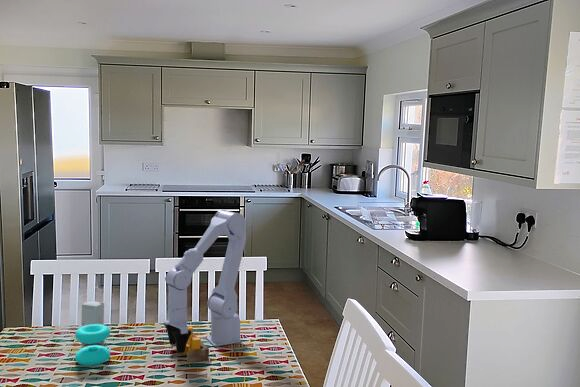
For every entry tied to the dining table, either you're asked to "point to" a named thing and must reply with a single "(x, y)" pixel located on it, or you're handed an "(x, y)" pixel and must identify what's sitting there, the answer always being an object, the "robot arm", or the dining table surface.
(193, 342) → the pipe clamp
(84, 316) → the skincare box
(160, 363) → the dining table surface
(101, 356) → the donuts
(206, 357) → the bracket
